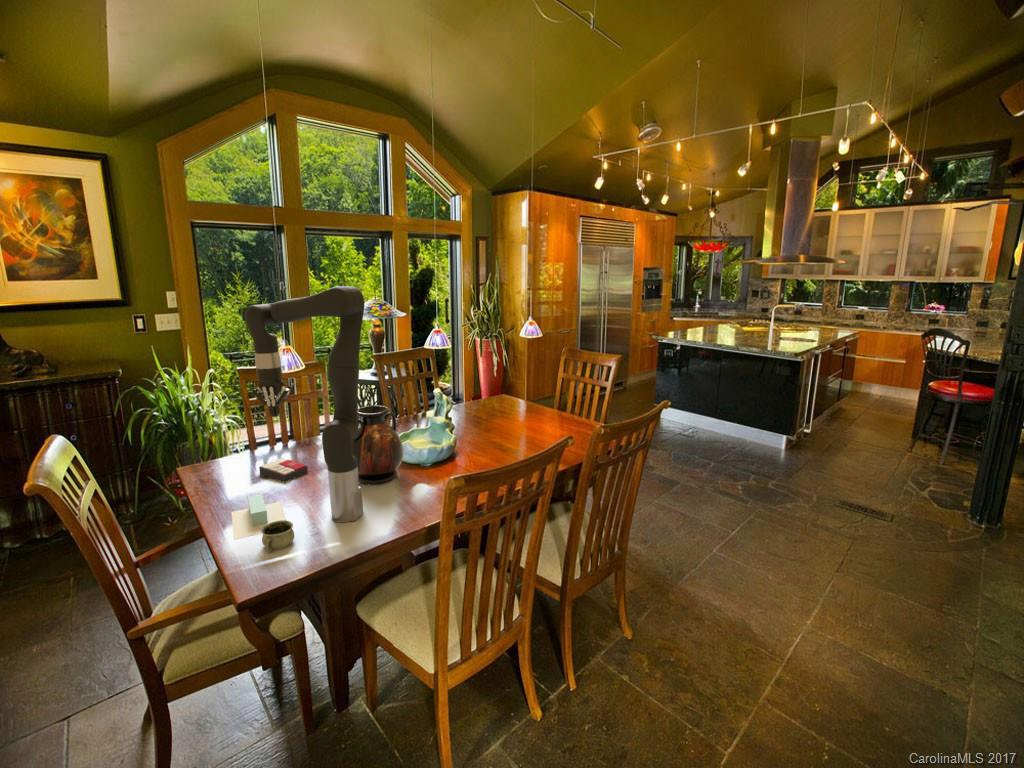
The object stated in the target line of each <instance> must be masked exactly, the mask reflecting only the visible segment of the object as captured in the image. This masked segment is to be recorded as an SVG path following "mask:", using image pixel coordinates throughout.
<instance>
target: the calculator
mask: <svg viewBox="0 0 1024 768" xmlns="http://www.w3.org/2000/svg"><path fill="white" fill-rule="evenodd" d="M302 474H303V475H305V474H308V466H307V465H306V464H303V463H300V462H297V461H294V460H291V459H286V458H283V457H282V458H279V459H276V460H273V461H270V462H268V463H266V464H263V465H261V466H259V476H262V475H263V476H262V477H265V476H267V477H268V478H271V479H273V480H276V479H277V480H276V481H279V480H280V482H283V481H284V482H283V483H286V481H287V482H288V480H289V481H291V480H294V479H296V478H298V477H300V476H302ZM267 477H266V478H267ZM295 477H296V478H295ZM290 479H291V480H290Z"/></svg>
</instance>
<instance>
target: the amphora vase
mask: <svg viewBox="0 0 1024 768" xmlns="http://www.w3.org/2000/svg"><path fill="white" fill-rule="evenodd" d="M357 416H358V417H359V418H361V420H360V419H359V418H358V424H359V425H358V435H357V438H356V439H355V440H354V442H352V443H351V445H352V454H353V456H355V457H356V458H357V464H358V479H359V484H362V485H365V486H378V485H379V484H380V485H384V484H387V483H390V482H392V481H394V480H395V479H396V478H397V477H398V474H399V471H398V468H399V467H400V466H401V463H402V462H403V459H404V453H405V452H404V445H403V441H402V439H401V437H400V436H399V435H400V434H399V435H398V433H397V419H396V415H395V414H394V413H393V412H391V409H390V407H388V406H385V405H367V406H366V405H365V406H362V407H359V408H357ZM389 417H390V418H391V419H390V420H391V426H390V424H389V423H388V422H387V421H388V418H389Z"/></svg>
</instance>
